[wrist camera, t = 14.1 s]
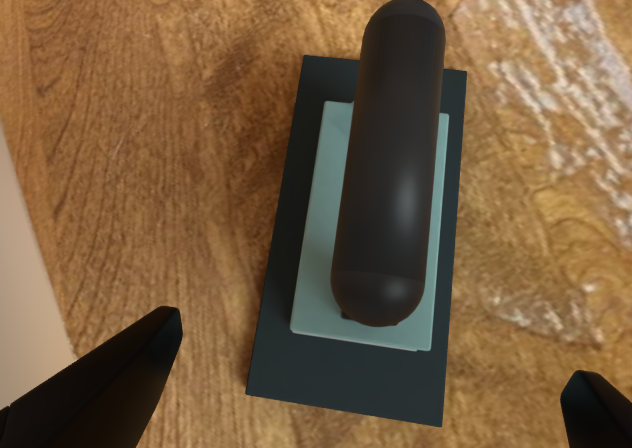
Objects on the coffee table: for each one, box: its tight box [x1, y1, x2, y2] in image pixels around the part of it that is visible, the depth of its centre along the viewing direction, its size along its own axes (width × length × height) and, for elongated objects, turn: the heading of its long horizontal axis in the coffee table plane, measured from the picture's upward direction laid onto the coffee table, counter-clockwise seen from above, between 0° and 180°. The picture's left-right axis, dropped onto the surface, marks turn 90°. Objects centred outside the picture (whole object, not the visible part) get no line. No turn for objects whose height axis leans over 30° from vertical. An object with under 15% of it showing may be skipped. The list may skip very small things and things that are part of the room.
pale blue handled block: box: [290, 0, 449, 351], centre depth 14 cm, size 10×5×9 cm, turn 172°
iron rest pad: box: [245, 55, 467, 427], centre depth 18 cm, size 16×8×1 cm, turn 172°
